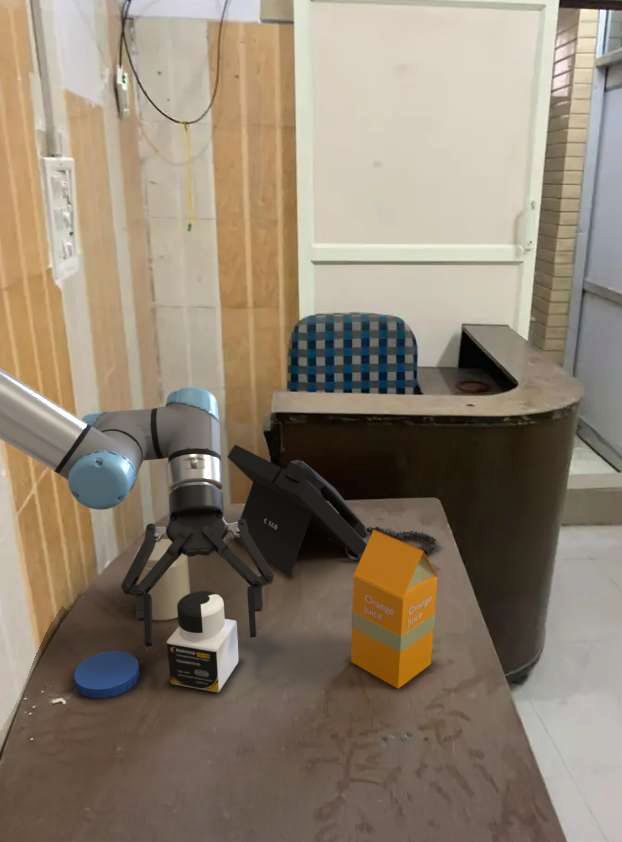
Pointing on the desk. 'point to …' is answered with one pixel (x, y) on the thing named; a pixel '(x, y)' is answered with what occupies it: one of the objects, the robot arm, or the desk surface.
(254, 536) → the office phone
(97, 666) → the jar lid
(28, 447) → the robot arm
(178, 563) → the jar
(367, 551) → the orange juice
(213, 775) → the desk surface
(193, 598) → the medicine bottle
